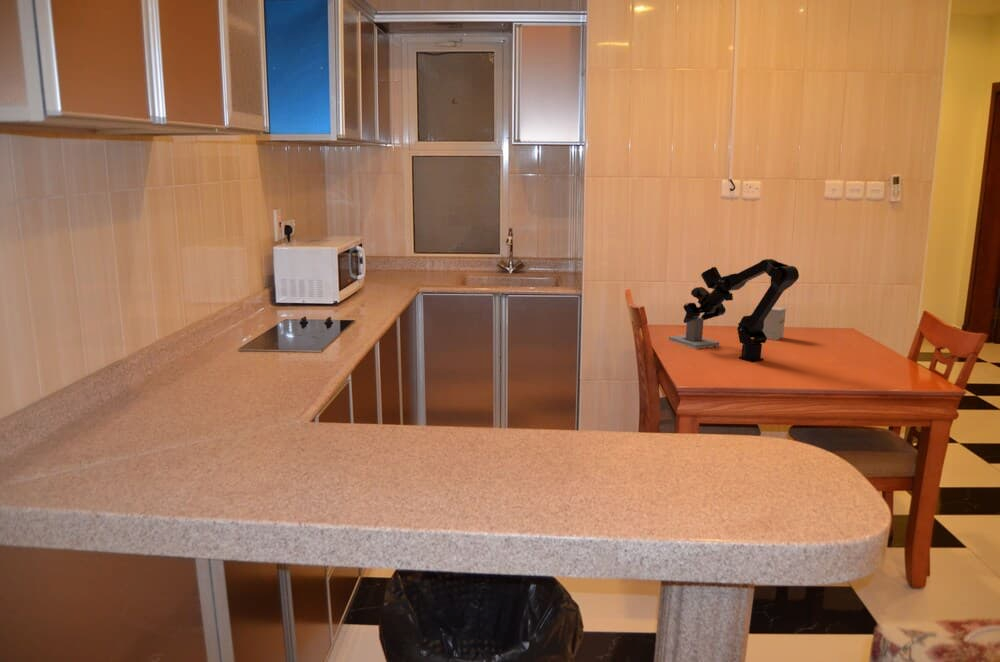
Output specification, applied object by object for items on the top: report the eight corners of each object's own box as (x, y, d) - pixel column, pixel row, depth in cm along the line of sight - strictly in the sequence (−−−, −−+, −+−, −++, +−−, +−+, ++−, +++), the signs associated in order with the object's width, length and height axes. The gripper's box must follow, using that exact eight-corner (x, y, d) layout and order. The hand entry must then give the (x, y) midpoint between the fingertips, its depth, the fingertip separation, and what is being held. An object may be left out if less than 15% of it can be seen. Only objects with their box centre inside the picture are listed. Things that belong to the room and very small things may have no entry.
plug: (701, 342, 312) (703, 314, 309) (693, 344, 309) (695, 315, 307) (693, 340, 315) (695, 312, 313) (685, 341, 313) (687, 313, 310)
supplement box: (777, 340, 320) (780, 310, 318) (759, 337, 325) (762, 308, 322) (783, 337, 326) (786, 307, 323) (766, 335, 331) (768, 305, 328)
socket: (718, 346, 308) (719, 342, 308) (695, 348, 303) (695, 345, 302) (691, 337, 322) (691, 334, 322) (668, 340, 316) (668, 336, 316)
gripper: (722, 279, 309) (699, 302, 320) (688, 282, 299) (666, 306, 310) (736, 302, 304) (712, 325, 315) (702, 306, 294) (679, 329, 305)
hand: (692, 321), depth 312 cm, fingers open, 9 cm apart
